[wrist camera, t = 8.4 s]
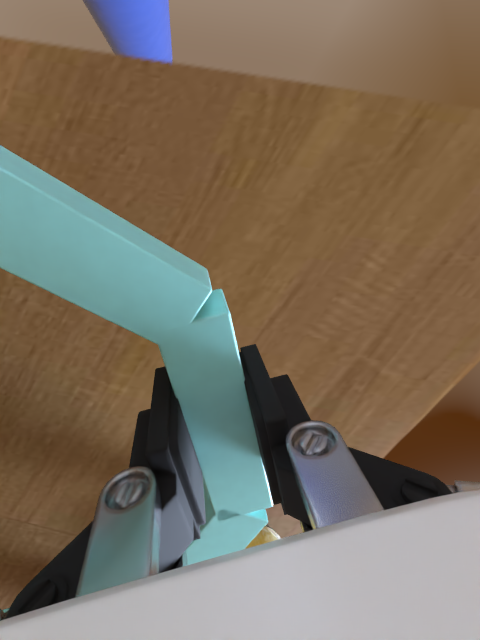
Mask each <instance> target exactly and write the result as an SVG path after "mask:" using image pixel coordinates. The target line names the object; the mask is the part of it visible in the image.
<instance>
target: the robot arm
mask: <svg viewBox="0 0 480 640" xmlns="http://www.w3.org/2000/svg"><path fill="white" fill-rule="evenodd" d="M239 355H240V360H241V364H242V369H243V373H244V377H245V381H244V384H245V389H246V393H247V397H248V402H249V406H250V411H251V415H252V420H253V424H254V428H255V433H256V437H257V442H258V446H259V451H260V455H261V459H262V463H263V466H264V470H265V474H266V477H267V481H268V484H269V488H270V492H271V495H272V499H273V502H274V505H275V504H279V503H281V505H282V508H283V511H284V515H286V514H288V515H290V516H292V517H294V518H296V519H298V520H300V524H301V528H302V531H303V533H300V534H296V535H293V536H289V537H285V538H282V539H278V540H275V541H271V542H268V543H264V544H261V545H257V546H254V547H250V548H247V549H243V550H239V551H236V552H232V553H229V554H225V555H222V556H218V557H215V558H211V559H208V560H204V561H201V562H197V563H194V564H190V565H188V564H187V554H186V549H187V548H188V546H189V545H190V544H191V542H192V541H194V540H197V539H201V538H200V525H203V524H206V515H205V501H204V487H203V473H202V470H201V467H200V464H199V461H198V458H197V455H196V452H195V449H194V446H193V443H192V440H191V437H190V434H189V431H188V428H187V425H186V422H185V419H184V416H183V413H182V410H181V407H180V404H179V401H178V398H176V397H175V394H174V391H173V388H172V385H171V382H170V379H169V376H168V373H167V370H166V367H161V368H157V369H156V370H155V377H154V385H153V394H152V402H151V409H148V410H144V411H140V412H139V414H138V418H137V424H136V430H135V436H134V442H133V447H132V453H131V459H130V465H129V468H128V469H125V470H123V471H121V472H119V473H118V474H116V475H115V476H113V477H112V478H111V479H110V480H109V481H108V482H107V483H106V485H105V486H104V487H103V489H102V491H101V493H100V496H99V499H98V503H97V507H96V512H95V516H94V520H93V521H92V522H91V523H90V524H89V525H88V526H87V527H86V528H85V529H84V530H83V531H82V532H81V533H80V534H79V535H78V536H77V537H76V538H75V539H74V540H73V541H72V542H71V543H70V544H69V545H67V546H66V547H65V548H64V549H63V550H62V551H61V552H60V553H59V554H58V555H57V556H56V557H55V558H54V559H53V560H52V561H51V562H50V563H49V564H48V565H47V566H46V567H45V568H44V569H43V570H42V571H41V572H40V573H39V574H38V575H36V576H35V577H34V578H33V579H32V580H31V581H30V582H29V583H28V584H27V585H26V586H25V587H24V589H23V590H22V591H21V592H20V593H19V594H18V595H17V597H16V599H15V600H14V602H13V603H12V605H11V607H10V608H9V610H8V611H7V612H5V613H4V612H3V611H2V610H1V609H0V640H480V482H468V481H455V484H454V485H445V484H444V483H443V482H441V481H440V480H439V479H437V478H435V477H434V476H431V475H429V474H427V473H424V472H421V471H418V470H415V469H412V468H409V467H406V466H403V465H400V464H397V463H394V462H391V461H388V460H385V459H382V458H380V457H377V456H374V455H371V454H368V453H365V452H362V451H359V450H356V449H353V448H350V447H347V445H346V443H345V442H344V440H343V438H342V436H341V435H340V433H339V432H338V431H337V429H336V428H335V427H333V426H332V425H330V424H328V423H325V422H322V421H313V420H312V421H311V419H310V417H309V415H308V414H307V412H306V410H305V408H304V406H303V404H302V402H301V400H300V398H299V396H298V394H297V392H296V390H295V388H294V386H293V384H292V382H291V380H290V378H289V377H288V375H287V374H286V375H282V376H278V377H274V378H270V377H269V375H268V372H267V370H266V368H265V365H264V363H263V361H262V358H261V356H260V353H259V351H258V349H257V346H256V344H254V345H250V346H246V347H242V348H241V352H239Z"/></svg>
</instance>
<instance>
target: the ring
mask: <svg viewBox="0 0 480 640" xmlns="http://www.w3.org/2000/svg"><path fill="white" fill-rule="evenodd" d="M0 268H2V269H4V270H6V271H8V272H10V273H12V274H14V275H16V276H18V277H20V278H22V279H24V280H26V281H28V282H31V283H33V284H35V285H37V286H39V287H41V288H43V289H45V290H47V291H49V292H51V293H53V294H55V295H57V296H59V297H61V298H63V299H65V300H68V301H70V302H72V303H74V304H76V305H78V306H80V307H82V308H84V309H86V310H88V311H90V312H92V313H94V314H96V315H98V316H100V317H103V318H105V319H107V320H109V321H111V322H113V323H115V324H117V325H119V326H121V327H123V328H125V329H127V330H129V331H131V332H133V333H135V334H137V335H140V336H142V337H144V338H146V339H148V340H150V341H152V342H154V343H156V344H158V346H159V349H160V352H161V355H162V358H163V361H164V364H165V367H166V370H167V373H168V376H169V379H170V382H171V385H172V388H173V391H174V394H175V397H176V398H178V401H179V404H180V407H181V410H182V413H183V416H184V419H185V422H186V425H187V428H188V431H189V434H190V437H191V440H192V443H193V446H194V449H195V452H196V455H197V458H198V461H199V464H200V467H201V470H202V473H203V487H204V501H205V515H206V524H203V525H200V538H201V539H197V540H194V541H192V542H191V544H190V545H189V546H188V548H187V549H186V554H187V564H188V565H190V564H194V563H197V562H201V561H204V560H208V559H211V558H215V557H218V556H222V555H225V554H229V553H232V552H236V551H239V550H243V549H245V548H246V547H247V545H248V544H249V543H250V542H251V541H252V540H253V539H254V538H255V536H256V535H257V534H258V533H259V532H260V531H261V530H262V528H263V527H264V526H265V525H266V524H267V523H268V519H267V514H266V510H265V509H266V508H269V507H272V506H273V502H272V497H271V493H270V488H269V484H268V481H267V477H266V474H265V470H264V466H263V463H262V459H261V455H260V451H259V446H258V442H257V437H256V433H255V428H254V424H253V420H252V415H251V411H250V406H249V402H248V397H247V393H246V389H245V384H244V381H245V377H244V373H243V369H242V364H241V360H240V355H239V351H238V346H237V342H236V337H235V333H234V329H233V324H232V320H231V315H230V312H229V309H228V306H227V303H226V300H225V297H224V294H223V291H222V290H221V289H217V290H213V291H212V287H211V283H210V279H209V276H208V272H207V269H206V268H205V267H203V266H201V265H200V264H198V263H196V262H195V261H193V260H191V259H189V258H188V257H186V256H184V255H183V254H181V253H179V252H178V251H176V250H174V249H173V248H171V247H169V246H168V245H166V244H164V243H163V242H161V241H159V240H158V239H156V238H154V237H153V236H151V235H149V234H148V233H146V232H144V231H143V230H141V229H139V228H138V227H136V226H134V225H133V224H131V223H129V222H128V221H126V220H124V219H123V218H121V217H119V216H118V215H116V214H114V213H113V212H111V211H109V210H108V209H106V208H104V207H103V206H101V205H99V204H98V203H96V202H94V201H93V200H91V199H89V198H88V197H86V196H84V195H83V194H81V193H79V192H78V191H76V190H74V189H72V188H71V187H69V186H67V185H66V184H64V183H62V182H61V181H59V180H57V179H56V178H54V177H52V176H51V175H49V174H47V173H46V172H44V171H42V170H41V169H39V168H37V167H36V166H34V165H32V164H31V163H29V162H27V161H26V160H24V159H22V158H21V157H19V156H17V155H16V154H14V153H12V152H11V151H9V150H7V149H6V148H4V147H2V146H1V145H0ZM8 610H9V608H8V609H4V610H2V611H3V612H4V613H5V612H7V611H8Z"/></svg>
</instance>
